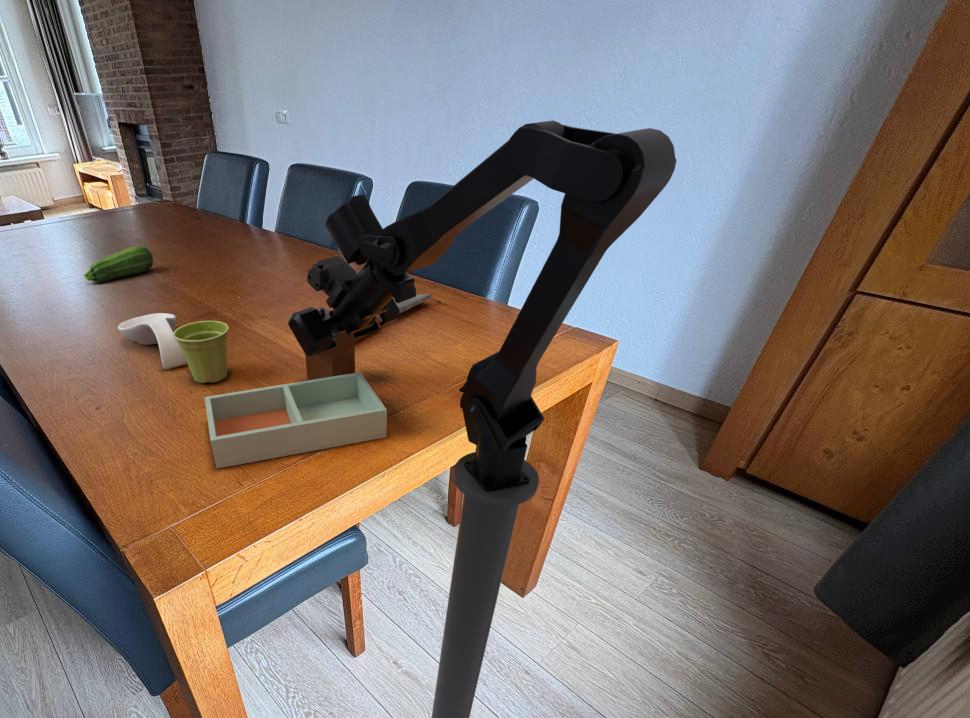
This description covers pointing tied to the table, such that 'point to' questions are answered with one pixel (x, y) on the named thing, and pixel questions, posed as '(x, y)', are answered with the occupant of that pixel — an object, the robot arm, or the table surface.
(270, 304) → the table surface
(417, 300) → the meat cleaver
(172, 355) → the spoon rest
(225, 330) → the plant pot
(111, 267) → the vegetable
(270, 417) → the divided tray
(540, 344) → the robot arm
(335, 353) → the knife block
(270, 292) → the table surface
